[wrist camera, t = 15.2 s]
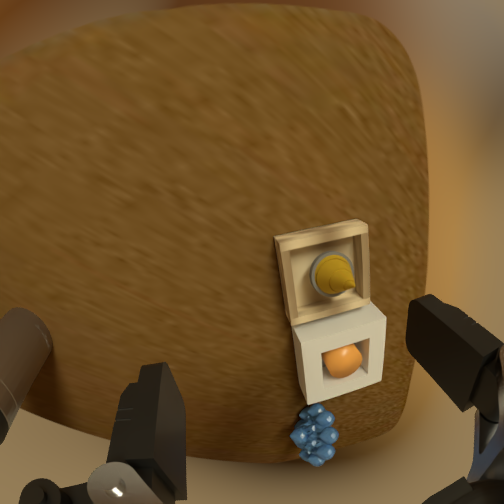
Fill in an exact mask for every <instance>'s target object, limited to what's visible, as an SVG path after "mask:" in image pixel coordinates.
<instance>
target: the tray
mask: <svg viewBox="0 0 504 504" xmlns="http://www.w3.org/2000/svg"><path fill="white" fill-rule="evenodd" d="M274 241H275V248H276V254H277V260H278V266H279V273H280V279H281V285H282V292H283V298H284V305H285V312H286V316H287V318H288V320H289V322H290V324H291V326H294V325H298V324H302V323H305V322H309V321H313V320H316V319H320V318H324V317H327V316H331V315H334V314H338V313H341V312H345V311H348V310H352V309H355V308H358V307H362V306H365V305H368V304H370V262H369V238H368V224H366V223H364V222H362V221H360V220H358V219H353V220H348V221H343V222H338V223H334V224H329V225H324V226H319V227H315V228H310V229H305V230H300V231H296V232H291V233H286V234H282V235H277V236H274ZM326 251H337V252H340V253H343V254H344V255H346V256H347V257H348V258H349V259H350V260H351V262H352V264H353V268H354V281H355V285H356V286H355V287H354V288H351V289H348V290H346V291H345V292H344V293H343V294H341V295H339V296H336V297H327V296H324V295H322V294H320V293H319V292H317V291H316V290H315V289H314V288H313V286H312V284H311V282H310V278H309V271H310V267H311V264H312V263H313V261H314V260H315V258H316V257H317V256H319V255H320V254H322V253H323V252H326Z"/></svg>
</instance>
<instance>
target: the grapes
mask: <svg viewBox="0 0 504 504" xmlns="http://www.w3.org/2000/svg"><path fill="white" fill-rule="evenodd" d="M299 416H300V418H301V420H299V421H298V422H297V423H296V425H295V426H294V428H295V429H294V431H293V432H292V433H291V434H290V437H291V439H292V440H293V441H294V443H295V444H296V445H297V447H299V448H301V449H302V450H301V452H300V454H299V455H300V457H301V458H302V459H303V460H305V461H307V462H310V463H311V464H312V465H314V466H321V465H322V464H323V463H324V462H325V460H328V459H331V458H332V456H333V455H334V453H335V449H334V447H333V446H332V445H331V444H333V443H335V442H336V440H337V439H338V437H339V434H338V432H337V430H336V429H335V428H333V427H330V426H331V425H332V424H333V422H334V420H335V418H334V416H333V414H332V413H331V412H329V411H326V410H325V408H324V407H323V406H322V405H321V404H319V403H315V404H313V405H311V407H306V408H304V409H303V410H302V411H301V413H300V414H299Z"/></svg>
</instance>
